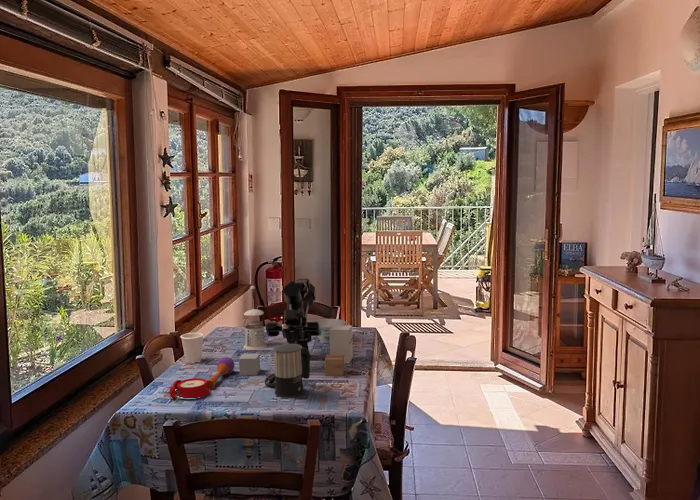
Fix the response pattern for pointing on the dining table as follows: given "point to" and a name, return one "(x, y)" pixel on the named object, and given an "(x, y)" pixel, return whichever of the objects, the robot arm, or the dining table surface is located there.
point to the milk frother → (289, 370)
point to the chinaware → (327, 328)
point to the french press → (254, 330)
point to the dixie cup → (192, 346)
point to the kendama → (221, 370)
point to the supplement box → (342, 341)
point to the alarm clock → (189, 388)
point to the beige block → (249, 364)
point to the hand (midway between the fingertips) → (291, 350)
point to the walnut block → (334, 365)
